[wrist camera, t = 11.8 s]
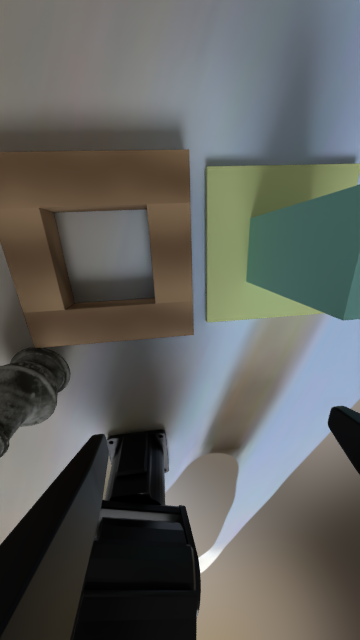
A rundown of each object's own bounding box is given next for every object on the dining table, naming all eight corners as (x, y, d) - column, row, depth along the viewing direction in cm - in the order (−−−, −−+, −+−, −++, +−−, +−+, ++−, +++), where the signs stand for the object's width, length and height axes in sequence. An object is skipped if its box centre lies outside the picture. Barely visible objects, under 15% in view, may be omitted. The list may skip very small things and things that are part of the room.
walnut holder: (190, 326, 19) (193, 334, 18) (47, 337, 18) (34, 348, 17) (185, 161, 15) (189, 149, 13) (-4, 164, 14) (-29, 152, 12)
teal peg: (300, 278, 18) (449, 311, 9) (246, 281, 18) (343, 320, 8) (310, 215, 17) (508, 175, 7) (250, 218, 16) (377, 179, 7)
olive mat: (324, 310, 20) (329, 312, 20) (205, 320, 19) (207, 322, 19) (354, 166, 16) (361, 163, 16) (205, 169, 15) (207, 166, 15)
